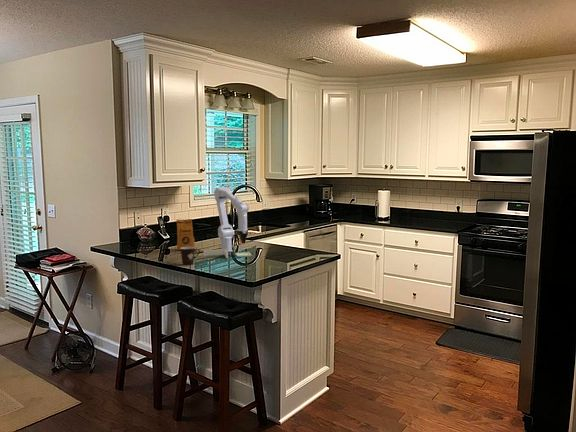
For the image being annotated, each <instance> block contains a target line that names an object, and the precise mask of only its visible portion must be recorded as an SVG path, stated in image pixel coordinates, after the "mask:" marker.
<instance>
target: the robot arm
mask: <svg viewBox="0 0 576 432" xmlns="http://www.w3.org/2000/svg"><path fill="white" fill-rule="evenodd" d="M213 195H214V200H215V202H216V207H217V211H218V216H219V221H220V223H219V224H220V225H219V227H218V228H217V235H218V238H219V239H220V249H219V250H223V249H225V250H226V251H227V252H228V253H233V252H234V251H233V249H232V248H233V246H232V239H233V237H234V235H235V231H234V229H233V226H232V224H230V223H229V219H228V215H227V210H226V204H225V202H226V201H227V199H228V200H229V201H230V202H231V205H232V206H233V207H234V208H235V210H236V214H237V219H238V221H237V225H238V227H237V229H236V231H237V234H238V235H239V236H238V237H239V241H240V240H241V241H242V244H243V243H245V242H246V243H247V237H248V235H249V232H247V231H248V212H249V207H250V206H249V205H248V204H247V203H243V201H241V200H240V198H239V197H235V195H234V194H233V193H232V191H231V189H230V188H229V187H216V188H215V189H214V192H213Z"/></svg>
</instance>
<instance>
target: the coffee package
mask: <svg viewBox="0 0 576 432" xmlns="http://www.w3.org/2000/svg"><path fill="white" fill-rule="evenodd" d="M192 220H193V219H192V218H187V219H185V218H184V219H175V222H176V236H177V239H176V240H177V241H176V249H177V250H178V251H181V250H180V248H182V247H195V245H196V244H195V243H196V242H195V237H194V232H193V231H194V228H193V221H192ZM195 248H196V247H195Z"/></svg>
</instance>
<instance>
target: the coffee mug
mask: <svg viewBox="0 0 576 432" xmlns="http://www.w3.org/2000/svg"><path fill="white" fill-rule="evenodd" d="M197 250H198V253H197V254H196V255H195V252H196V251H197ZM179 251H180V254H181V261H182V266H193V265H194V262H195V260H194V259H196V258H197V257H199V254H200V253H201V251H200V249H199V248H196V247H182V248H180V250H179Z"/></svg>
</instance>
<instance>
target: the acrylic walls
mask: <svg viewBox="0 0 576 432" xmlns="http://www.w3.org/2000/svg"><path fill="white" fill-rule="evenodd" d="M228 254H229V252H227V251H226V250H225V249H223V250H220V249H211V250H210V249H209V250H207V249H206V250H205V249H204V250H203V257H207V256H208V257H210V256H225V258H226V259H228V258H229V255H228Z"/></svg>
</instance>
